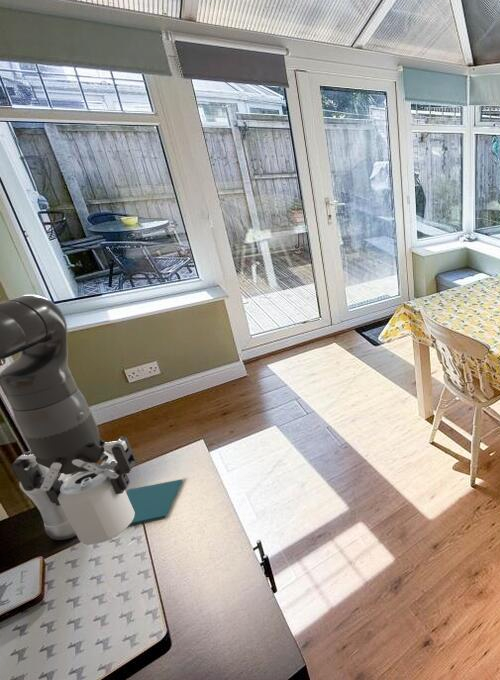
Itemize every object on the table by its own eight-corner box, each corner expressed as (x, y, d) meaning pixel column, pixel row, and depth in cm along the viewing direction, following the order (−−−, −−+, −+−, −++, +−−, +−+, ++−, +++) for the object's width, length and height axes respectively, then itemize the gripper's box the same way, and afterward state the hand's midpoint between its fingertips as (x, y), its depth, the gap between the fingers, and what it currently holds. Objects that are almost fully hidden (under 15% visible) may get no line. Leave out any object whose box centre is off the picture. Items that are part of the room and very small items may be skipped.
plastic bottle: (60, 522, 85) (18, 447, 77) (103, 511, 87) (66, 438, 79) (43, 550, 80) (-4, 472, 72) (89, 538, 82) (47, 462, 74)
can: (134, 503, 79) (113, 455, 74) (138, 529, 74) (116, 480, 69) (79, 526, 74) (54, 477, 69) (80, 556, 69) (53, 505, 65)
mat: (106, 530, 84) (105, 528, 83) (129, 491, 92) (128, 489, 92) (165, 517, 87) (164, 515, 87) (182, 481, 95) (181, 479, 95)
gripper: (124, 398, 70) (152, 470, 76) (13, 412, 65) (53, 488, 72) (101, 427, 64) (134, 503, 70) (-24, 445, 59) (24, 525, 66)
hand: (93, 495), depth 71 cm, fingers closed on can, 7 cm apart
